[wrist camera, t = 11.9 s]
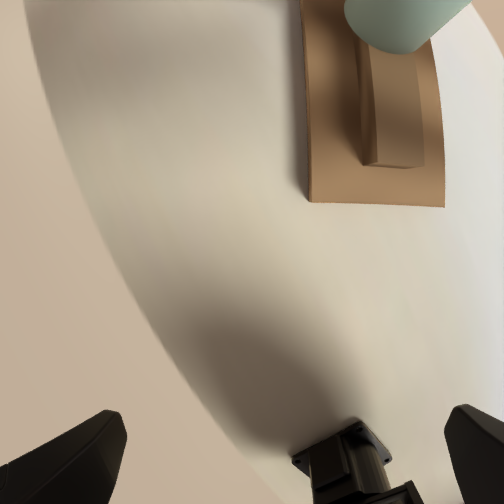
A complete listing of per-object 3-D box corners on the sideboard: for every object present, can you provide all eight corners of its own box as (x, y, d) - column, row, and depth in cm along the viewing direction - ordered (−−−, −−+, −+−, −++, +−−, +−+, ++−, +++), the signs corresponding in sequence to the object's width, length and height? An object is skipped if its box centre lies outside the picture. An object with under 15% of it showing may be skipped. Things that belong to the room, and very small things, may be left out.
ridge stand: (433, 205, 17) (467, 210, 13) (308, 201, 18) (319, 204, 14) (395, -45, 13) (411, -73, 10) (292, -60, 14) (294, -93, 10)
